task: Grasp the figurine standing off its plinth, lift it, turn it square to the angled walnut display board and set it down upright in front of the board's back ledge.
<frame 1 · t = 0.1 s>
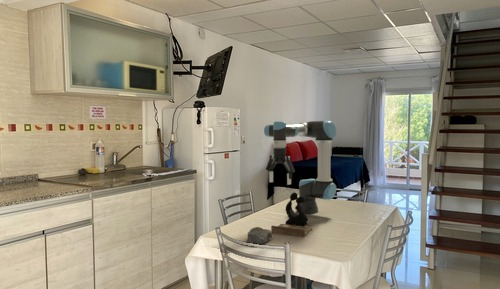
hand: (280, 183, 219), 28 cm above the table, fingers open, 13 cm apart
display board: (292, 231, 216), on the table
rock: (258, 241, 201), on the table
figurine: (297, 224, 232), on the table
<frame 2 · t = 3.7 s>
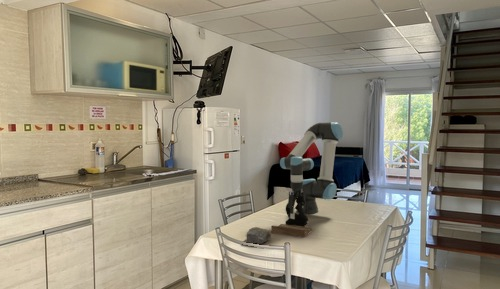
hand: (296, 217, 232), 4 cm above the table, fingers closed on figurine, 9 cm apart
figurine: (297, 224, 232), on the table, touching gripper
when the fingers open (8 cm above the table, at t = 9.4 s): figurine drops 2 cm, resting on display board.
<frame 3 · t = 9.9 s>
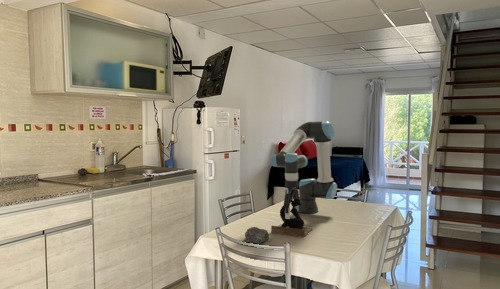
hand: (291, 216, 216), 9 cm above the table, fingers open, 13 cm apart
figurine: (292, 229, 217), point 1 cm above the table, touching display board
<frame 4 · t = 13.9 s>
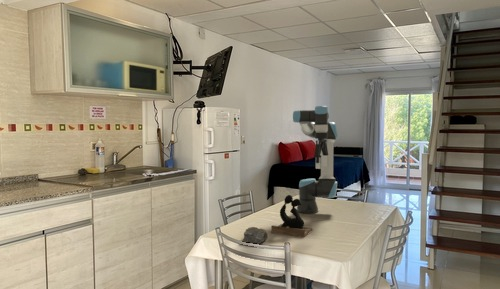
hand: (321, 167, 222), 37 cm above the table, fingers open, 13 cm apart
at the end: figurine inside the target area on the display board (0.2 cm from its centre), point 1.3 cm above the display board's base; figurine tilted 0°; the gripper is holding nothing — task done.
